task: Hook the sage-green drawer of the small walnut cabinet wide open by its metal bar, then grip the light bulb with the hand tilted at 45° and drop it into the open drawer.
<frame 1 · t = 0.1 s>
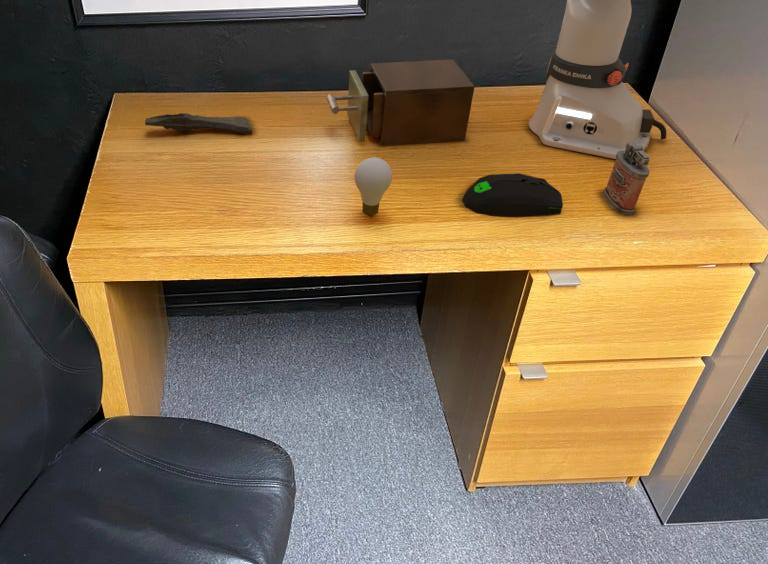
drawer: (381, 104, 134), point 5 cm above the table, slide at 3.0 cm
light bulb: (369, 216, 114), on the table
computer mouse: (509, 200, 118), on the table
lighter: (617, 203, 117), on the table
tool: (200, 128, 139), on the table
cabinet: (414, 128, 138), on the table
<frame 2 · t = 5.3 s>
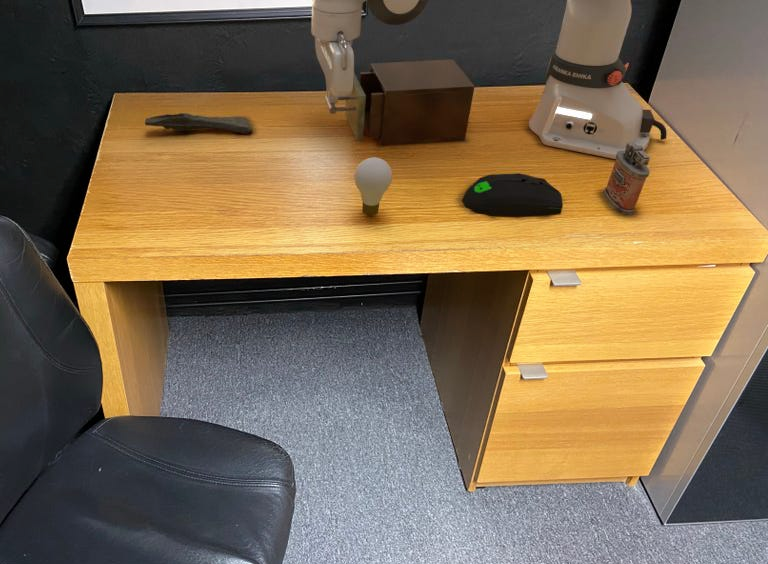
hand: (332, 100, 132), 7 cm above the table, tool pointing down, fingers closed, pressing on drawer
drawer: (378, 104, 134), point 5 cm above the table, slide at 3.5 cm, touching gripper
everything else where it was.
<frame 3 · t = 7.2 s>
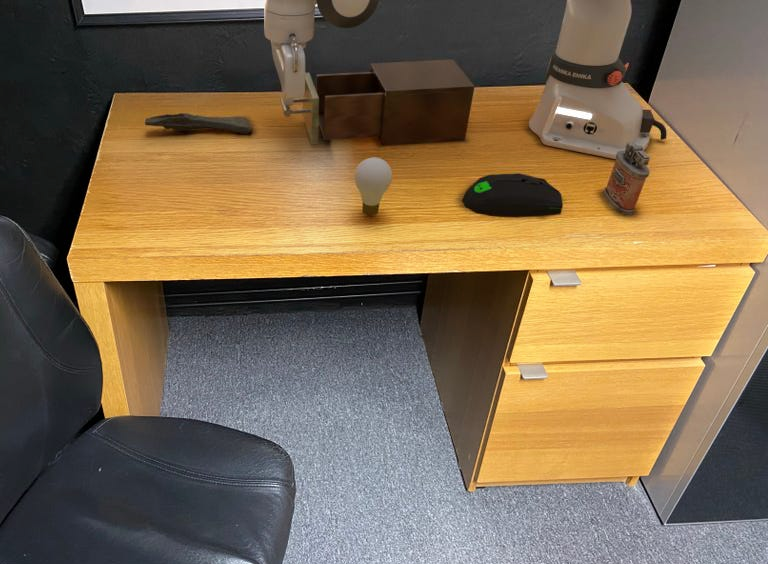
hand: (287, 102, 132), 7 cm above the table, tool pointing down, fingers closed, pressing on drawer
drawer: (334, 106, 133), point 5 cm above the table, slide at 12.1 cm, touching gripper
everything else where it was.
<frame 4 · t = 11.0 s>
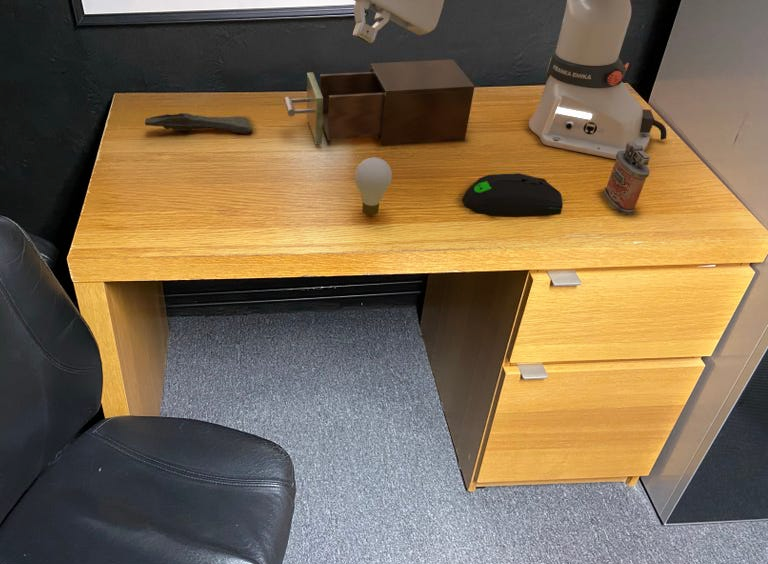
hand: (362, 38, 102), 26 cm above the table, tool tilted 40°, fingers closed
drawer: (338, 106, 133), point 5 cm above the table, slide at 11.4 cm
everything else where it was.
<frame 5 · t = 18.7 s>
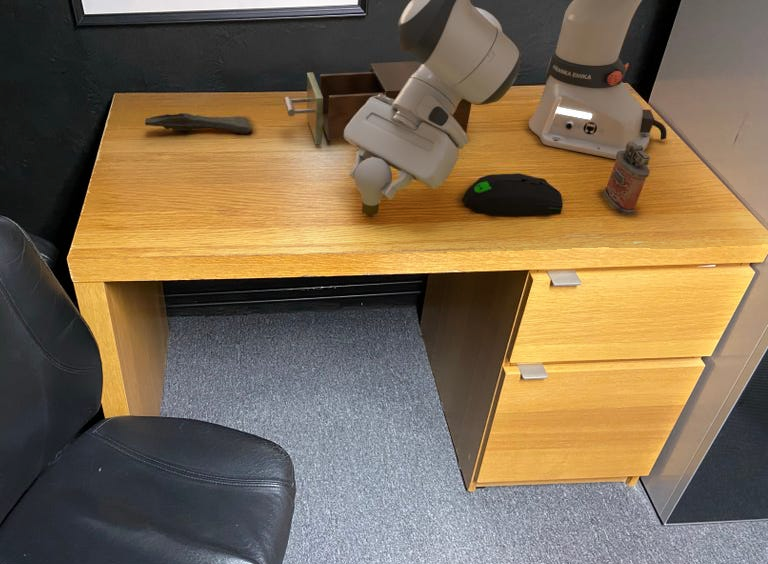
hand: (369, 187, 110), 5 cm above the table, tool tilted 45°, fingers closed on light bulb, 6 cm apart
light bulb: (369, 216, 114), on the table, touching gripper
everything else where it was.
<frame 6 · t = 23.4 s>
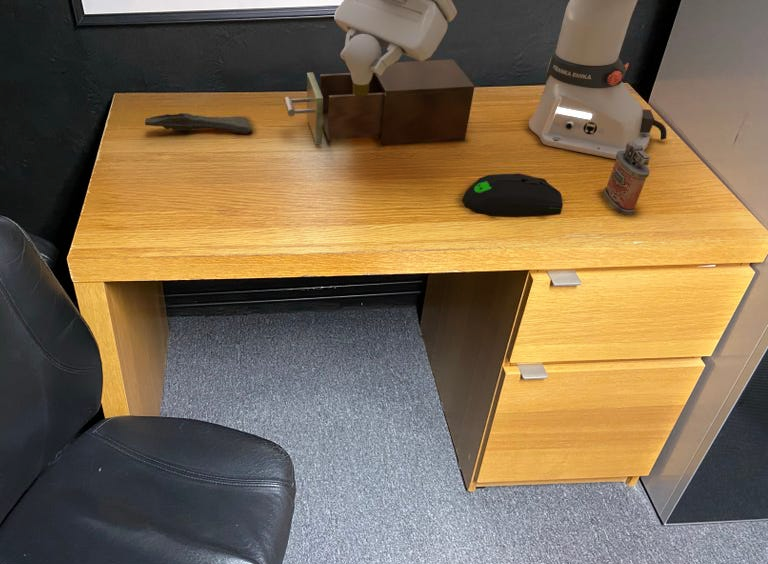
hand: (359, 66, 111), 19 cm above the table, tool tilted 45°, fingers closed on light bulb, 6 cm apart
light bulb: (360, 99, 115), point 14 cm above the table, touching gripper
everything else where it was.
when the fingers open (12 cm above the table, at t = 28.1 s): light bulb drops 5 cm, resting on drawer.
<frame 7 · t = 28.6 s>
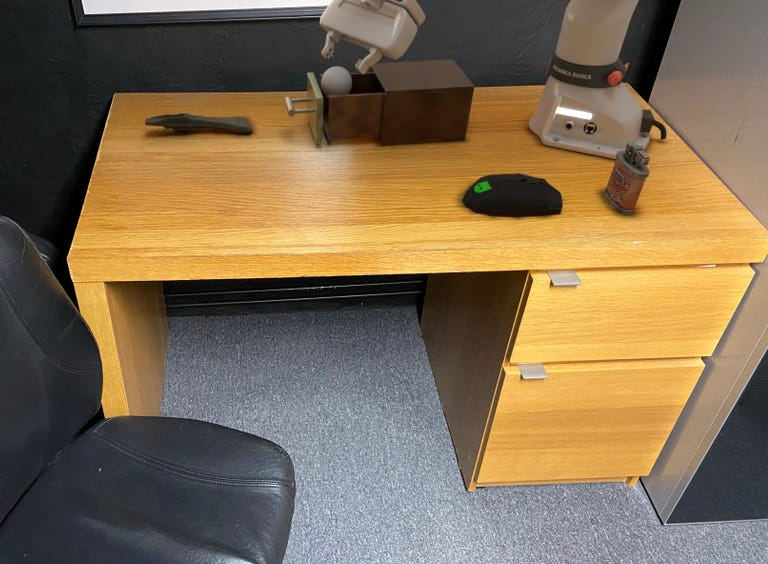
hand: (341, 64, 127), 13 cm above the table, tool tilted 45°, fingers open, 8 cm apart
drawer: (338, 106, 133), point 5 cm above the table, slide at 11.3 cm, touching light bulb
light bulb: (340, 122, 135), point 2 cm above the table, touching drawer
everything else where it was.
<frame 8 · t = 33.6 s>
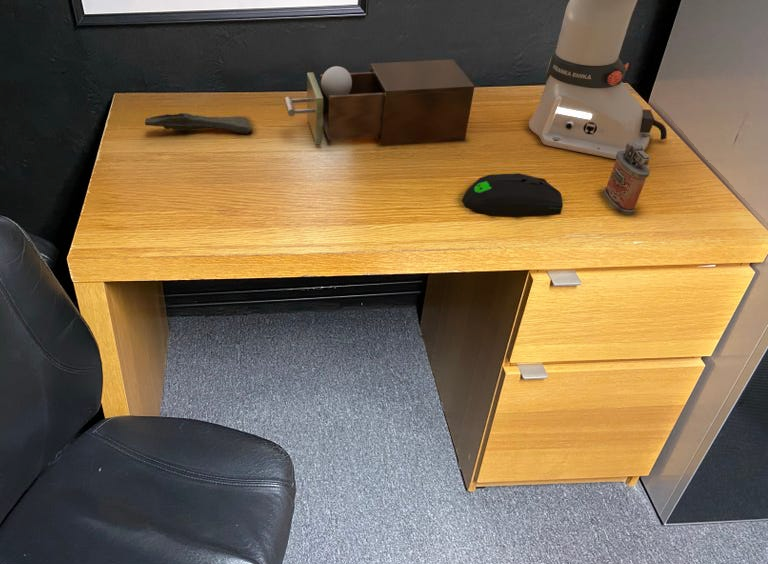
nothing on the table moved.
at the end: drawer slide at 11.3 cm; light bulb inside the target area in the cabinet (9.3 cm from its centre), point 2.2 cm above the cabinet's base; the gripper is holding nothing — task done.
